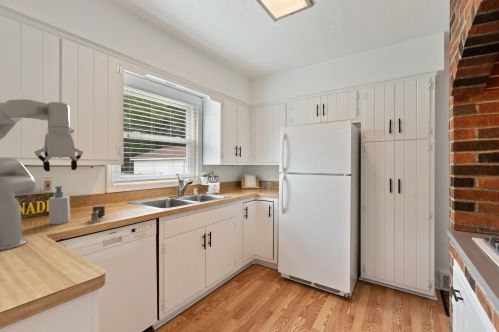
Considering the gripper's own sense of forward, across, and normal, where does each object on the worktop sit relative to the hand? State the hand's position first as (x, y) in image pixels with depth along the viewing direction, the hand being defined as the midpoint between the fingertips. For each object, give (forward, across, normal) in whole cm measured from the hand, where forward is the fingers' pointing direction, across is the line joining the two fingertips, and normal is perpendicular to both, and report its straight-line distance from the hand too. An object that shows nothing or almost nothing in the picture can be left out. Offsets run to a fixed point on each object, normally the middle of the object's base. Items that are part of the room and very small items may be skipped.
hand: (61, 170), depth 105 cm
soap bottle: (+35, -15, -48) cm, 62 cm away
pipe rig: (+35, -30, -34) cm, 57 cm away
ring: (+33, -32, -36) cm, 58 cm away
